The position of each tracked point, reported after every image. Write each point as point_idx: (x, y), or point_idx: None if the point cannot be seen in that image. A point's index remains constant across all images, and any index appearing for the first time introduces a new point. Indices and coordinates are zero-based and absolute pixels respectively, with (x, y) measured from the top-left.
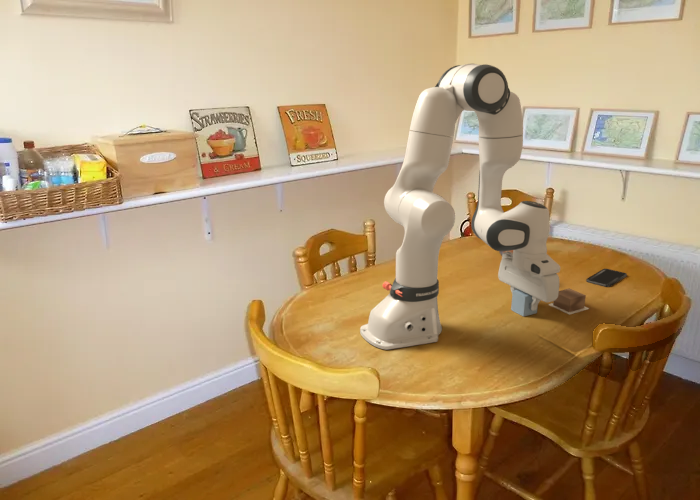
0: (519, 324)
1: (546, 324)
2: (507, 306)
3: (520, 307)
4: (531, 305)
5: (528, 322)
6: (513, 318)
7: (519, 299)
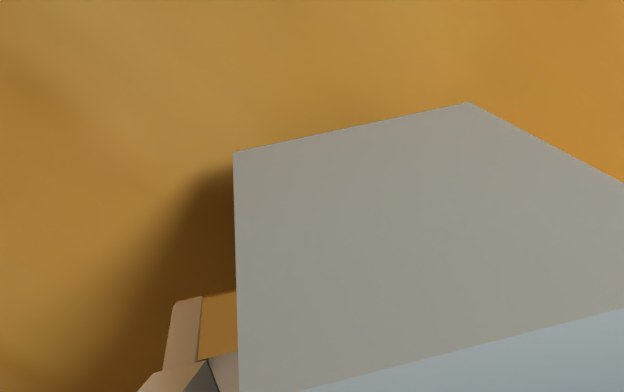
0: (140, 31)
1: (86, 318)
2: (609, 161)
3: (323, 182)
4: (188, 348)
5: (174, 171)
6: (330, 56)
7: (412, 245)
